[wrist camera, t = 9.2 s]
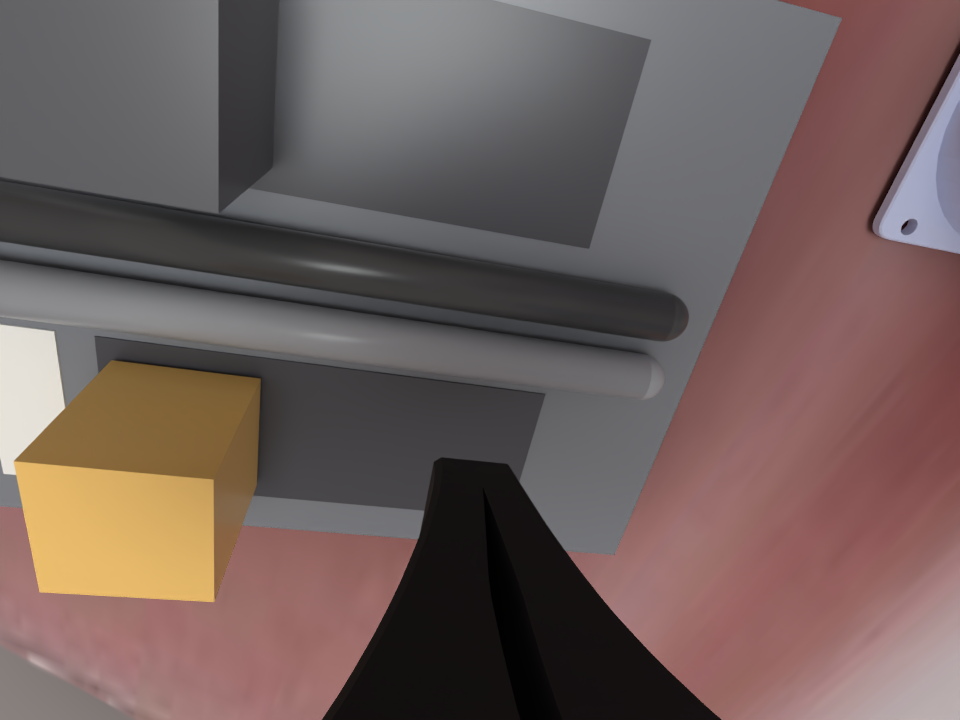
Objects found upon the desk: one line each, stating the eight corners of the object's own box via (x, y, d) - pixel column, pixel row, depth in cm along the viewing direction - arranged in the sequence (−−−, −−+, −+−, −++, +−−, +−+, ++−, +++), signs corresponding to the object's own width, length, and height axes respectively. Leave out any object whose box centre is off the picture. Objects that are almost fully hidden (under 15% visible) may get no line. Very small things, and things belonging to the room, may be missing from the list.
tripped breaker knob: (260, 378, 17) (213, 479, 13) (256, 484, 19) (214, 601, 15) (111, 360, 16) (13, 461, 12) (122, 472, 18) (39, 592, 14)
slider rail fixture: (794, 21, 16) (1008, 7, 10) (600, 517, 24) (657, 665, 18) (-152, -235, 12) (-674, -492, 6) (-2, 462, 20) (-168, 629, 14)
